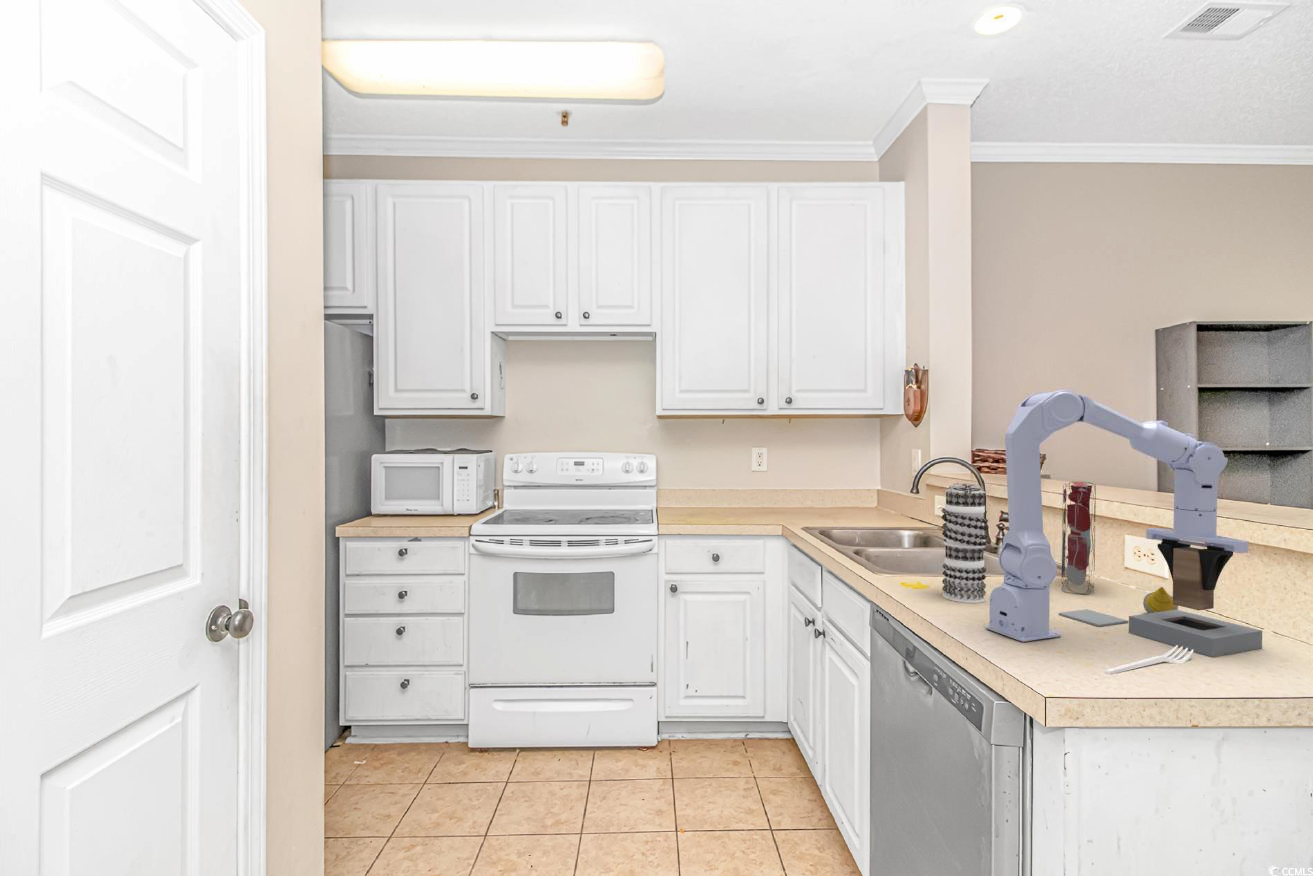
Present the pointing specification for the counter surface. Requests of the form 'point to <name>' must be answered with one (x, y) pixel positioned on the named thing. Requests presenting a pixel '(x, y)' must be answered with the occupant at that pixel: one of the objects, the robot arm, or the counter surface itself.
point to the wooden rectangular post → (1189, 580)
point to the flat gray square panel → (1093, 618)
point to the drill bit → (1159, 601)
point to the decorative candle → (964, 543)
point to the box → (1078, 533)
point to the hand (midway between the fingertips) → (1193, 586)
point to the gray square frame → (1196, 632)
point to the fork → (1154, 661)
